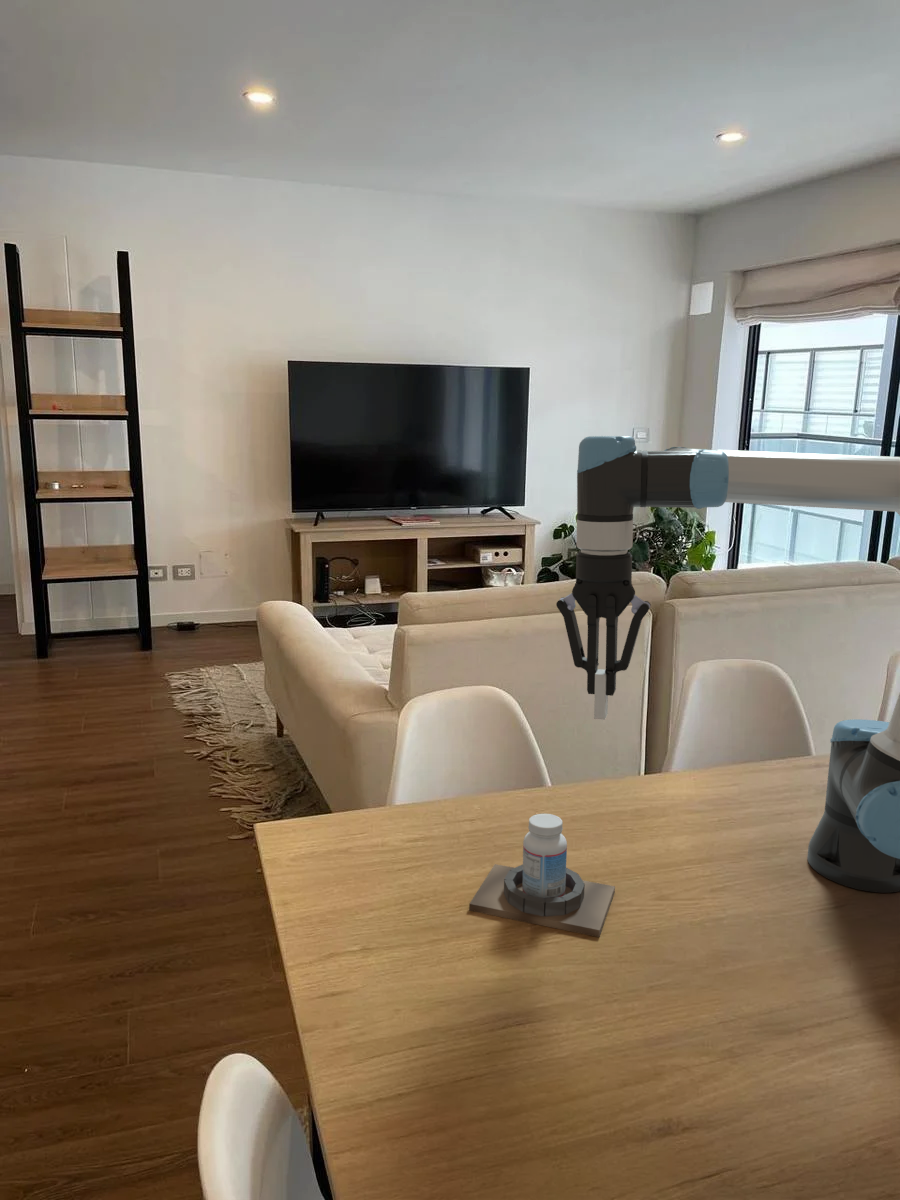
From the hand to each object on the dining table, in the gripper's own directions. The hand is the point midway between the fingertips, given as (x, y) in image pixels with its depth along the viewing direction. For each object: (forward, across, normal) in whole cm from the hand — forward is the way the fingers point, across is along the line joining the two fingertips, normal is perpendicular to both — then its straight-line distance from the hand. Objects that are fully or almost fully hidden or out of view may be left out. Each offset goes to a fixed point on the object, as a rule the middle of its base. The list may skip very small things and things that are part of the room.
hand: (600, 716), depth 125 cm
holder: (+25, +6, +8) cm, 27 cm away
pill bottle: (+25, +6, +8) cm, 27 cm away
